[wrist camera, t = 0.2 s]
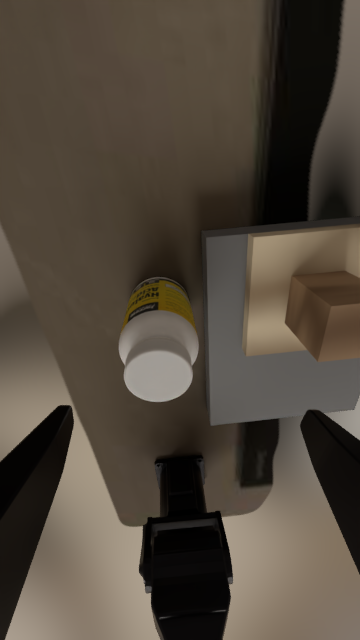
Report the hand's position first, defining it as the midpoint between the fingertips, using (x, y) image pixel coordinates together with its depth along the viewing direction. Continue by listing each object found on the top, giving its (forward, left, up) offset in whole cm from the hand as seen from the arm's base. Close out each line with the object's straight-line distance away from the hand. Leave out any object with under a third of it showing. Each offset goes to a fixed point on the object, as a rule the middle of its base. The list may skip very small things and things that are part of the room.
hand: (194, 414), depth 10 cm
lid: (-1, -11, -12) cm, 16 cm away
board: (-6, -11, -14) cm, 19 cm away
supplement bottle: (-2, +1, -15) cm, 15 cm away
